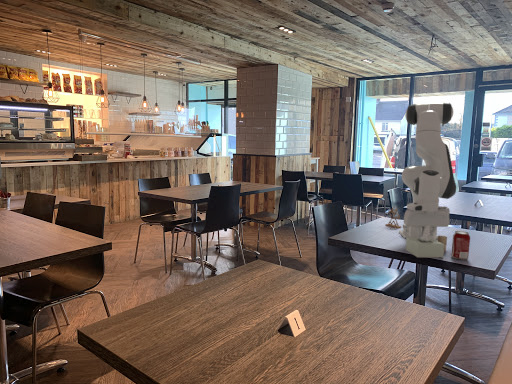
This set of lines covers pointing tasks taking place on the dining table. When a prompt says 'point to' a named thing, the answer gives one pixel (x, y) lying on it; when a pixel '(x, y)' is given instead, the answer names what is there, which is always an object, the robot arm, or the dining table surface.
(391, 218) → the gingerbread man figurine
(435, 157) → the robot arm
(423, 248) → the hole block
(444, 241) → the short wooden pin
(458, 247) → the soda can
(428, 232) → the white tall square block
